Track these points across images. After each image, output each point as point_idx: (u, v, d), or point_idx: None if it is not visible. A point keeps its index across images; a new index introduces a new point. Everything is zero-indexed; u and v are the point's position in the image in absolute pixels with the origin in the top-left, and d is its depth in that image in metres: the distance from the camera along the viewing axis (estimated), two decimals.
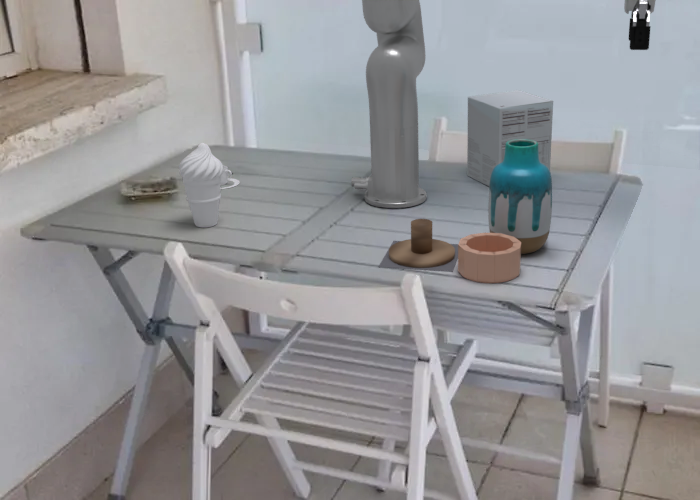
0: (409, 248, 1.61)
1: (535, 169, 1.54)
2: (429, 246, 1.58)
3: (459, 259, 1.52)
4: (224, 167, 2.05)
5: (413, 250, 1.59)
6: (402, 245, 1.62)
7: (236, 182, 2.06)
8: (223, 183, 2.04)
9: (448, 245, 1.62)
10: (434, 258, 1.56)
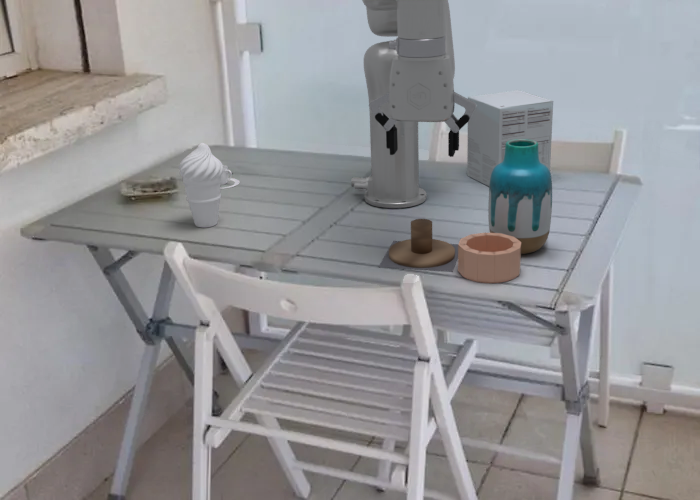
0: (409, 248, 1.61)
1: (535, 169, 1.54)
2: (429, 246, 1.58)
3: (459, 259, 1.52)
4: (224, 167, 2.06)
5: (413, 250, 1.59)
6: (402, 245, 1.62)
7: (236, 182, 2.06)
8: (223, 183, 2.05)
9: (448, 245, 1.62)
10: (434, 258, 1.56)
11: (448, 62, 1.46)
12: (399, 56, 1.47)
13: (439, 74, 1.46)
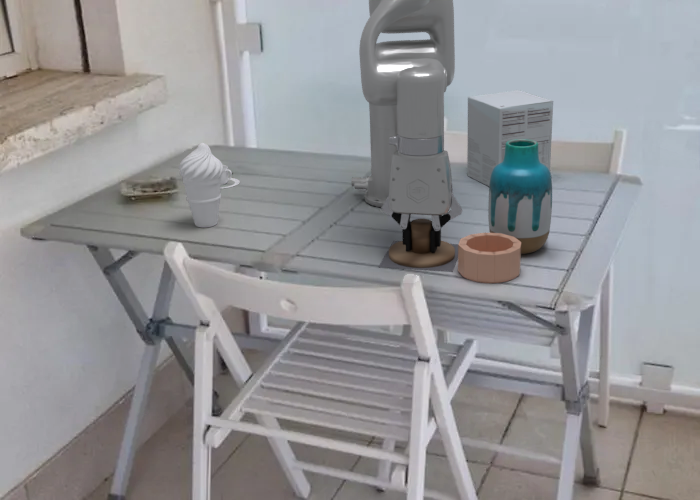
0: None
1: (535, 169, 1.54)
2: (429, 246, 1.58)
3: (459, 259, 1.52)
4: (224, 167, 2.06)
5: (413, 250, 1.59)
6: (402, 245, 1.62)
7: (236, 182, 2.06)
8: (223, 183, 2.05)
9: (448, 245, 1.62)
10: (434, 257, 1.56)
11: (446, 159, 1.52)
12: (399, 152, 1.53)
13: (438, 170, 1.52)
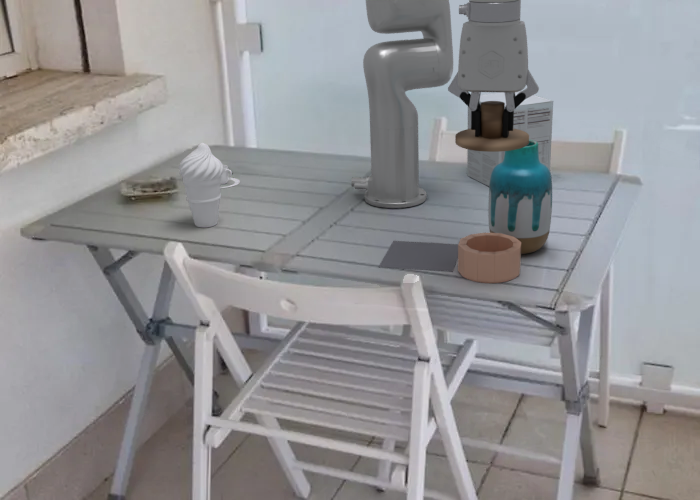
0: None
1: (535, 169, 1.54)
2: (501, 130, 1.43)
3: (459, 259, 1.52)
4: (224, 166, 2.06)
5: (483, 135, 1.44)
6: (469, 132, 1.47)
7: (236, 181, 2.06)
8: (223, 182, 2.05)
9: (520, 131, 1.46)
10: (508, 141, 1.41)
11: (523, 27, 1.36)
12: (470, 21, 1.38)
13: (514, 40, 1.36)
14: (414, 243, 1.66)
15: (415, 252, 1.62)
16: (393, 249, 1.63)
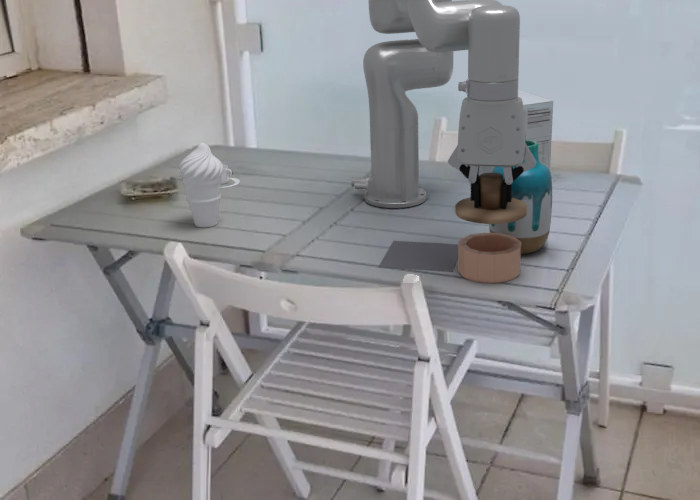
0: None
1: (535, 169, 1.54)
2: (500, 201, 1.47)
3: (459, 259, 1.52)
4: (224, 166, 2.06)
5: (482, 206, 1.48)
6: (468, 202, 1.51)
7: (236, 181, 2.06)
8: (223, 182, 2.05)
9: (519, 201, 1.50)
10: (506, 213, 1.45)
11: (521, 105, 1.41)
12: (470, 99, 1.42)
13: (512, 117, 1.40)
14: (414, 243, 1.66)
15: (415, 252, 1.62)
16: (393, 249, 1.63)
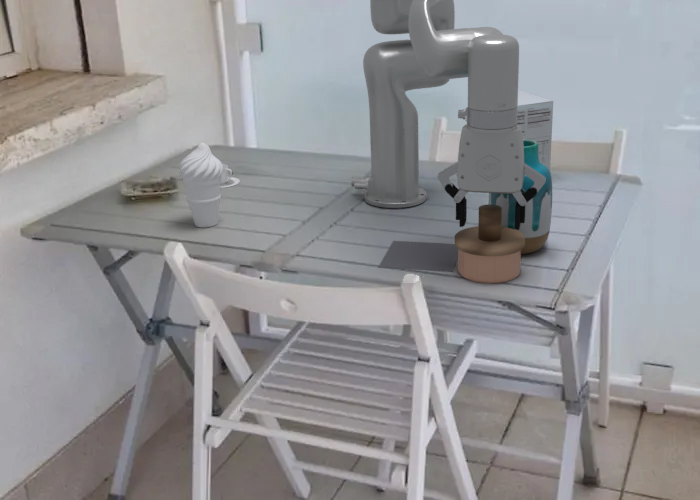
0: (476, 236, 1.52)
1: (535, 169, 1.54)
2: (498, 233, 1.49)
3: (459, 259, 1.52)
4: (224, 166, 2.06)
5: (481, 238, 1.50)
6: (467, 232, 1.53)
7: (236, 181, 2.07)
8: (223, 182, 2.05)
9: (517, 232, 1.52)
10: (505, 245, 1.47)
11: (520, 133, 1.42)
12: (469, 126, 1.43)
13: (511, 145, 1.42)
14: (414, 243, 1.66)
15: (415, 252, 1.62)
16: (393, 249, 1.63)
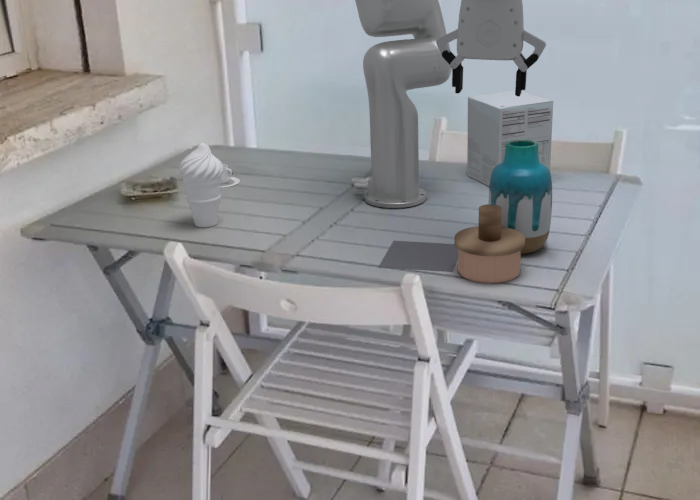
0: (476, 236, 1.52)
1: (535, 169, 1.54)
2: (498, 233, 1.49)
3: (459, 259, 1.52)
4: (224, 166, 2.06)
5: (481, 238, 1.50)
6: (467, 232, 1.53)
7: (236, 181, 2.07)
8: (223, 182, 2.05)
9: (517, 232, 1.52)
10: (505, 245, 1.47)
11: None
12: None
13: (510, 10, 1.44)
14: (414, 243, 1.66)
15: (415, 252, 1.62)
16: (393, 249, 1.63)
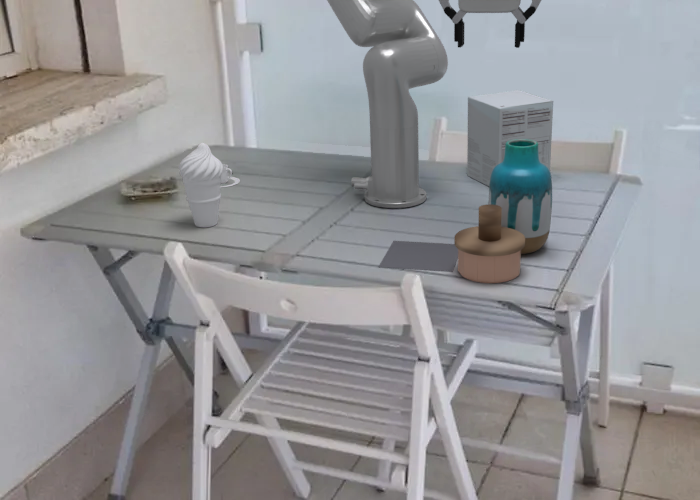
0: (476, 236, 1.52)
1: (535, 169, 1.54)
2: (498, 233, 1.49)
3: (459, 259, 1.52)
4: (224, 166, 2.07)
5: (481, 238, 1.50)
6: (467, 232, 1.53)
7: (236, 180, 2.07)
8: (223, 181, 2.06)
9: (517, 232, 1.52)
10: (505, 245, 1.47)
11: None
12: None
13: None
14: (414, 243, 1.66)
15: (415, 252, 1.62)
16: (393, 249, 1.63)
